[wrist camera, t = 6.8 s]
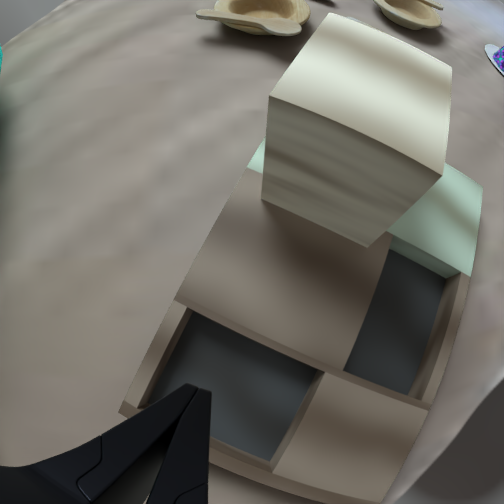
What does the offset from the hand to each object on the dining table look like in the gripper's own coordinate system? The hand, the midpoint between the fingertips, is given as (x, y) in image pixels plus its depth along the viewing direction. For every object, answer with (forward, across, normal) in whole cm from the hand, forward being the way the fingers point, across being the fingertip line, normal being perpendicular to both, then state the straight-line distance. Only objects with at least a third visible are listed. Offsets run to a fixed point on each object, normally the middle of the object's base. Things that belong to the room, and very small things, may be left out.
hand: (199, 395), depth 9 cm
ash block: (+18, -3, -5) cm, 19 cm away
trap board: (+14, -5, +3) cm, 16 cm away
